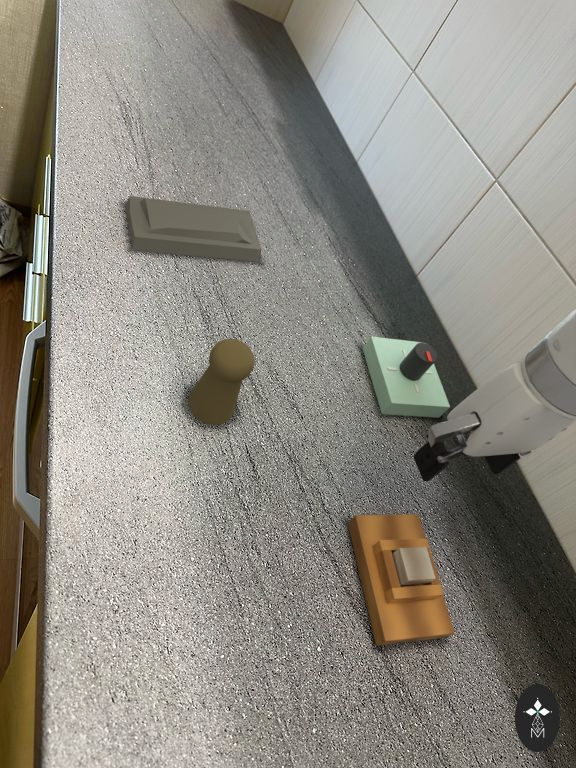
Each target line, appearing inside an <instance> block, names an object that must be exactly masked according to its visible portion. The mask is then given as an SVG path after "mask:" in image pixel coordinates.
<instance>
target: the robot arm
mask: <svg viewBox="0 0 576 768" xmlns="http://www.w3.org/2000/svg"><path fill="white" fill-rule="evenodd" d="M446 419H447V420H445V421H442V422H439V423H435V424H432V425H431V426H429V429H428V433H427V434H426V439H427V442H425V444H424V445H422V446H421V447H420V448H418V450H417V451H416V452H415V453H414V454H413V460H414V462H415V465H416V467H417V470H418V472H419V475H420V477H421V480H422V481H423V482H430V481H431V480H433V479H434V478H436V476H438V475H439V474H440V473H442V472H443V470H445V469H446V468H448V467H449V466H450V462H449V461H452V460H454V459H456V458H458V457H460V456H464V455H466V456H469V457H474V458H475V457H476V458H477V457H484V459H485V461H486V464H487V465H488V467H489V469H490V471H491V473H492V474H493V475H499V474H501V473H503V472H504V471H505V470H507V469H509V467H511V466H512V465H514V464H515V463H516V462H518V461H519V460H521V457H525V456H527V455H529V454H531V453H532V451H534V450H536V449H538V448H540V447H542V446H543V445H545V444H547V443H548V442H550V441H551V440H552V439H554V438H556V436H558V435H559V434H561V433H562V432H563V431H566V430H567V429H568V427H570V426H571V425H572V424H573V423H574V422H576V308H575V309H573V310H572V311H571V312H570V313H569V314H568V315H567V316H566V317H565V318H563V319H562V320H561V321H560V322H559V323H558V324H557V325H556V326H555V327H554V328H553V329H551V330H550V331H549V332H548V333H547V334H546V335H544V337H542V339H540V340H539V341H538V342H537V343H536V344H535V345H534V346H533V347H531V348H530V350H528V351H527V352H526V353H525V354H524V355H523V356H522V358H521V361H518V362H515V363H513V364H511V365H510V366H508V367H506V368H505V369H503V370H501V371H500V372H498V373H497V374H496V375H494V376H492V377H491V378H490V379H489V380H487V381H486V382H484V383H483V384H482V385H480V386H479V387H478V388H477V389H475V390H474V391H473V392H472V393H471V394H469V395H468V396H467V397H466V398H464V399H463V400H462V401H461V402H460V403H458V404H457V405H456V406H455V407H454V408H453V409H452V410H451V411H450V412H449V413H448V414H447V416H446ZM468 433H470V434H469V435H468V438H467V440H466V438H465V436H464V434H468ZM453 437H456V440H457V442H458V444H459V446H457V447H455V448H452V449H450V450H448V449H447V447H446V445H445V442H446V441H447V440H449V439H450V438H453Z"/></svg>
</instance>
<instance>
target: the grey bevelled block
mask: <svg viewBox="0 0 576 768" xmlns="http://www.w3.org/2000/svg"><path fill="white" fill-rule="evenodd" d="M124 206H125V212H126V218H127V219H126V220H127V224H128V231H129V238H130V244H131V250H132V251H135V252H146V253H157V254H166V255H177V256H187V257H188V256H189V257H198V258H199V257H200V258H211V259H221V260H231V261H233V260H234V261H242V262H243V261H245V262H253V263H254V262H256V263H261V256H262V255H261V254H262V247H261V244H260V241H259V238H258V234H257V231H256V226H255V224H254V221H253V215H252V214H251V211H250V210H245V209H237V208H229V207H222V206H212V205H206V204H198V203H190V202H181V201H175V200H168V199H167V200H165V199H158V198H149V197H142V196H135V195H129V197H128V198H127V200H126V201H125V204H124Z"/></svg>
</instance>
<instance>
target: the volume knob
mask: <svg viewBox="0 0 576 768" xmlns="http://www.w3.org/2000/svg"><path fill="white" fill-rule="evenodd" d="M437 361H438V354H437V352H436V349H434V347H433V346H431V345H430V344H428V343H426V342H422V343H418V344H416V346H415V347H414V348H413V349H412V350H411V352H410V353H409V354H408V355H407V356H406V357H405V359H404V360H403V361H402V362H401V364H400V371H401V373H402V374H403V375H404V376H405V377H406V378H408V379H410V380H413V381H416V380H419V379H420V378H421V377H422V376H423V375H424V374H425V372H426V371H427V370H428V369H429V368H430V367H431V366H432V365H433V364H434V365H435V363H436V362H437Z"/></svg>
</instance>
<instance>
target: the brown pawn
mask: <svg viewBox="0 0 576 768" xmlns="http://www.w3.org/2000/svg"><path fill="white" fill-rule="evenodd" d="M255 361H256V360H255V356H254V353H253V351H252V348H251V347H250V346H249V345H248V344H246V343H245V342H244V341H242V340H240V339H236V338H225V339H224V338H223V339H222V340H220V341H218V342H217V343H216V344H215V345H213V347H212V348H211V350H210V353H209V356H208V367H207V368H206V369H205V371H204V372H203V374H202V375H201V376H200V378H199V379H198V381H197V382H196V384H195V386H194V387H193V388H192V390H191V391H190V392H189V395H188V398H187V406H188V408H189V411H190V412H191V414H192V415H193V416H194V417H195V418H196V419H197V420H199V421H200V422H202V423H203V424H204V423H205V424H208V425H213V426H214V425H215V426H217V425H221V424H225V423H226V422H229V420H230V419H231V418H232V417H233V415H234V412H235V409H236V405H237V402H238V399H239V395H240V391H241V388H242V384H243V381H245V380H246V379H247V378H248V377H249V376H250V375H251V374H252V372H253V371H254V367H255Z"/></svg>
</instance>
